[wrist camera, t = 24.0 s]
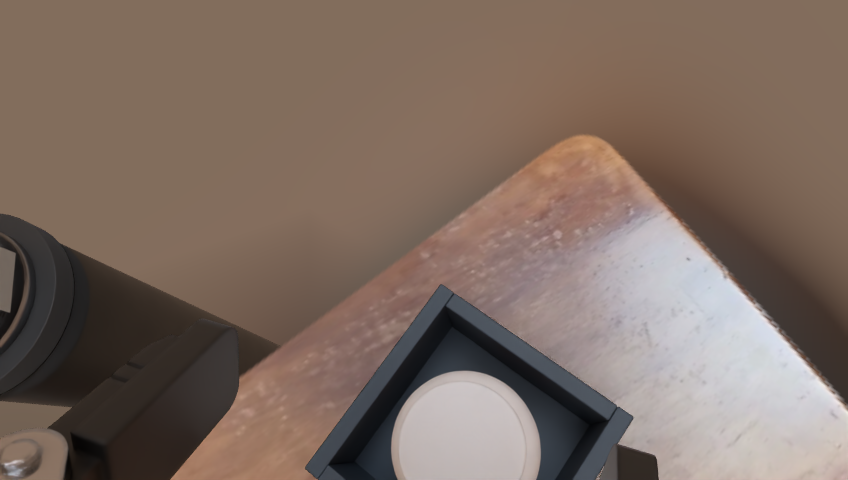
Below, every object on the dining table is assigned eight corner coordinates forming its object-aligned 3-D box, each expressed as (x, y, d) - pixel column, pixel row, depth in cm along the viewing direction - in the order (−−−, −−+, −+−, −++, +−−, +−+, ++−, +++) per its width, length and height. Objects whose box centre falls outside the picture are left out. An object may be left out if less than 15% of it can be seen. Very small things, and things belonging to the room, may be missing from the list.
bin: (338, 464, 33) (304, 468, 27) (449, 310, 35) (441, 283, 29) (496, 598, 30) (497, 637, 24) (608, 422, 32) (634, 417, 26)
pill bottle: (412, 388, 33) (375, 361, 22) (524, 383, 32) (539, 354, 22) (415, 510, 31) (375, 543, 20) (534, 507, 30) (556, 541, 20)
